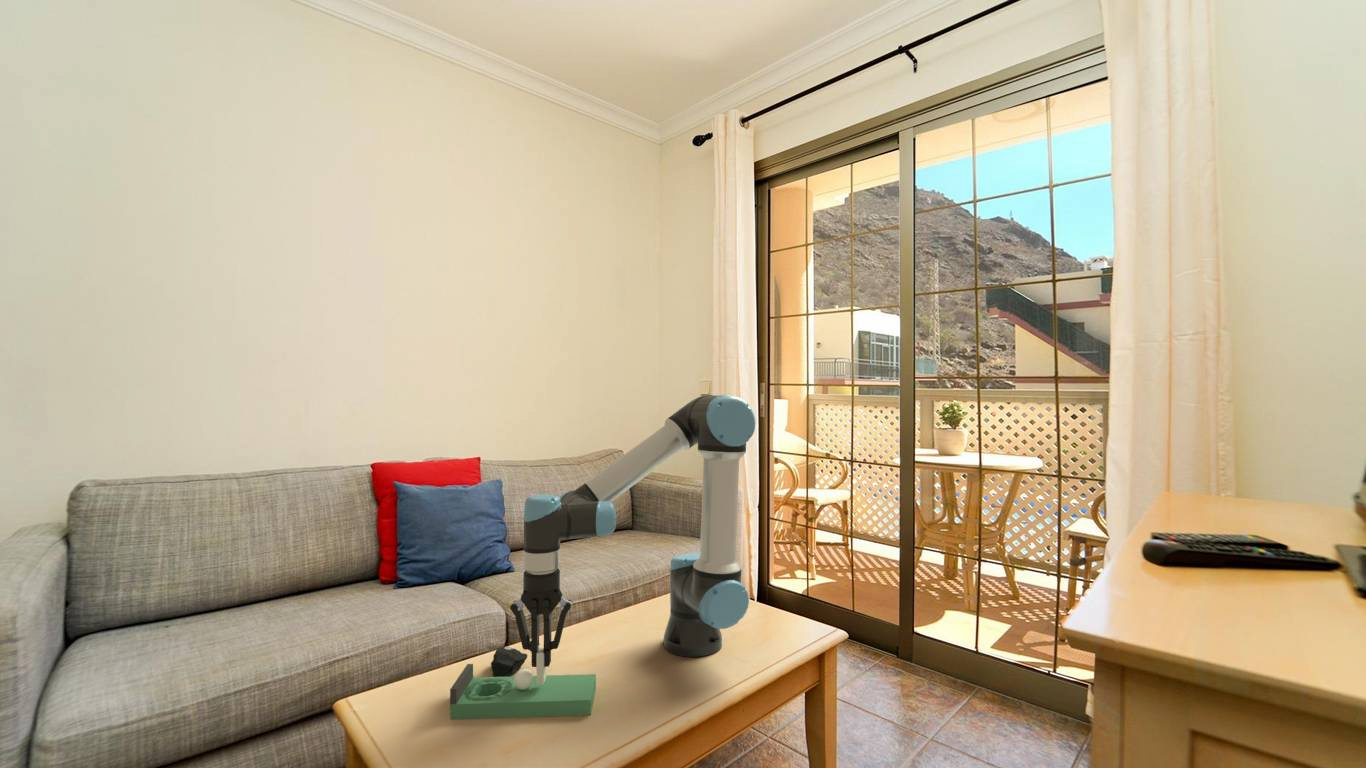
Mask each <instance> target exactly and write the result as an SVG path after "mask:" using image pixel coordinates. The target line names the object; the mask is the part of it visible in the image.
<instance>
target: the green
mask: <svg viewBox="0 0 1366 768" xmlns="http://www.w3.org/2000/svg"><path fill="white" fill-rule="evenodd" d="M514 677H515V675H512V676H511V677H493V676H484V677H483V676H480V677H474V663H467V664H466V665H465V667H464V668H463V670H462V671H461V673H460V674H459V676H458V677H457V679H456V680H455V682H454V683H453V684H452V686H451V688H450V689H449V690H450V692H449V695H450V697H449V699H450V700H449V704H450V705H449V712H450V713H449V720H471V719H472V720H473V719H499V718H500V719H501V718H502V719H503V718H504V719H505V718H530V717H531V718H536V717H537V718H538V717H539V718H540V717H563V716H565V717H566V716H567V717H568V716H571V717H572V716H591V713H592V710H593V705H594V701H595V700H594V699H595V694H596V688H597V674H596V673H589V674H588V673H587V674H586V673H585V674H583V673H582V674H558V675H557V674H553V675H547V674H546V679H545V682H544V685H536V675H533V683H532V685H531V686H530V687H529V688H528V689H526V690H519V689H518V688H516V686H515V684H514Z"/></svg>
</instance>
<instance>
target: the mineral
mask: <svg viewBox="0 0 1366 768" xmlns="http://www.w3.org/2000/svg"><path fill="white" fill-rule="evenodd" d="M527 658H528V654H527V653H522V652H521V651H520V650H518V649H516V648H514V647H512V646H507V645H503V646H501V647H497V648H496V651H495V652H494V654H493V659H492V661H491V662H490V668H491V671H492V677H511V676H515V675H516V673H517V672H518V671H519V670H521V669H522V668H521V667H522V666H523V664H524V663H525V661H526V660H527Z"/></svg>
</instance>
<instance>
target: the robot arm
mask: <svg viewBox="0 0 1366 768" xmlns="http://www.w3.org/2000/svg"><path fill="white" fill-rule="evenodd" d="M755 430H756V417H755V413H754V411H753V409H752V408H751V406H750V404H748V403H747V401H745V400H744V399H742V398H740V397H738V396H734V395H729V394H721V395H718V394H717V395H709V394H707V395H702V396H698V397H696V398H694V399H693V400H690V401H689V402H687V404H685V405H684V406H682V407H681V408H680V409H678V410H677V411H676V412H674V413H673V414H672V415H670V416H669V417H667V418H666V419H665V421H664V425H663V426H662V427H660V428H659V429H658V430H656V431H655V432H654V433H651V435H649V436H648V437H647V438H645V439H644V440H642V441H641V442H639V444H637V445H635V446H634V447H633V448H631V449H630V450H629V451H627V452H626V453H624V454H623V455H621V456H620V457H619V458H617V459H616V460H615V461H613V462H612V463H611V464H609V465H608V466H606V467H605V468H604V469H602V470H601V471H600V472H598V473H597V474H596V475H594V476H593V477H591V478H590V479H588V480H587V481H586V482H585V483H584V484H581V485H580V486H579V487H577V488H576V489H573V490H567V491H565V492H564V493H562V494H561V496H559V495H558V494H557V495H556V494H535V495H531V496H528V497H527V498H526V499H525V502H524V508H523V509H524V511H523V512H524V513H523V518H522V519H523V566H522V567H523V570H524V571H523V575H522V576H523V579H522V580H523V582H522V583H523V584H522V585H523V586H522V587H523V588H522V589H523V591H522V594H521V595H520V598H519V599H517V600H514V601H512V603H511V604H510V606H509V609H510V610H511V612H512V613H513V615H514V618H515V622H516V625H517V626H516V627H517V630H518V634H519V638H520V642H521V646H522V649H523V650H524V651H525V650H527V651H530V652H531V667H532V668H536V669H535V670H536V672H535V673H536V674H535V676H536V685H544V682H545V679H546V675H547V667H548V668H549V667H550V664H551V663H552V650H557V649H559V648H558V647H559V645H560V643H561V638H562V635H563V630H564V628H565V622H566V619H567V614H568V612H569V610H570V609H571V608H572V605H573V600H572V599H567V598H565V597H564V596H563V593H562V591H561V587H560V585H561V580H560V579H561V577H560V576H561V571H560V569H559V568H560V567H561V540H569V539H572V540H573V539H582V538H583V539H585V538H597V537H598V538H600V537H604V536H610V535H611V534H613V533H614V532H615V530H616V525H617V514H616V508H615V505H614V503H613V501H614V500H616V499H617V498H619V497H620V496H621V495H623V494H624V493H625V492H626V491H628V490H629V489H631V488H632V487H633V486H634V485H635V486H636V484H637V483H639V482H640V481H642V480H643V479H644V478H645V477H647V476H648V475H649V474H650V473H652V472H653V471H655V470H656V469H658V468H659V467H660V466H661V465H663V464H664V463H666V462H667V461H668V460H670V459H671V458H672V457H674V456H675V455H677V453H679V452H680V451H681V450H684V451H688V450H690V449H691V448H692V447H694V446H695V445H697V451H698V452H699V454H701V456H702V457H703V465H702V466H703V468H702V492H701V493H702V494H701V496H702V497H701V515H700V517H701V519H700V545H699V552H697V553H693V552H692V553H685V554H679V555H675V556H674V557H672V558H671V559H670V563H669V564H670V565H669V566H670V567H669V584H670V585H669V586H670V587H669V588H670V592H669V595H670V596H669V598H670V603H669V604H670V605H669V606H670V609H669V610H670V611H669V612H670V614H669V618H668V620H667V621H668V622H667V625H666V627H665V630H664V634H663V647H664V649H665V650H666V651H668V652H669V653H671V654H674V655H677V656H681V657H688V658H689V657H693V658H697V657H704V656H705V657H706V656H709V655H712V654H715V653H716V652H718V651H720V649H721V648H722V646H723V636H722V635H723V634H722V632H721V630H725V629H729V628H732V627H734V626H736V625H737V624H739V621H740V620H742V619H743V618H744V616H746V613H747V611H748V608H749V604H750V597H749V592H748V591H747V588H746V586H745V585H744V584H743V583H742V565H741V564H740V563H739V562H738V561H737V558H736V555H737V552H736V551H737V531H738V528H737V527H738V525H737V524H738V502H739V501H738V499H739V475H740V474H739V472H740V460H741V458H742V457H743V456H744V455H746V453H747V442H749V440H750V439H751V438H752V437H753V435H754V434H755ZM559 604H560V606H559V609H560V610H561V612H560V613H559V617H558V622H557V626H556V629H555V632H554V633H555V634H554V638H553V640H552V616H553V611H555V609H556V607H557V606H558V605H559ZM524 606H525V608H526V609H527V610H528V612H529V613H530V620H531V621H530V622H531V624H530V625H531V627H530V628H531V631H530V632H531V633H530V634H531V635H530V634H529V630H528V625H527V621H526V617H525V613H524V612H525V611H524ZM540 615H542V616H543V647H540Z"/></svg>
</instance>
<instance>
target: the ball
mask: <svg viewBox="0 0 1366 768" xmlns="http://www.w3.org/2000/svg"><path fill="white" fill-rule="evenodd" d="M514 676H515V677H514V684H515V686H516V688H518V689H519V690H526V689H528V688H529V687H530V686H531V685H532V683H533V676H534V675H533V672H532V671H531V670H530V669H528V668H521V669H519V670H518V671H517V672H516V673H515V674H514Z"/></svg>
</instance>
